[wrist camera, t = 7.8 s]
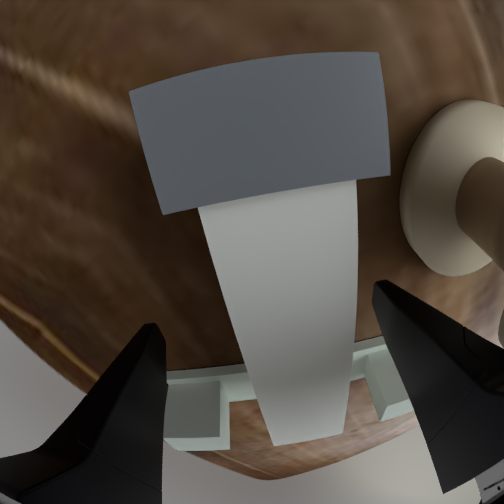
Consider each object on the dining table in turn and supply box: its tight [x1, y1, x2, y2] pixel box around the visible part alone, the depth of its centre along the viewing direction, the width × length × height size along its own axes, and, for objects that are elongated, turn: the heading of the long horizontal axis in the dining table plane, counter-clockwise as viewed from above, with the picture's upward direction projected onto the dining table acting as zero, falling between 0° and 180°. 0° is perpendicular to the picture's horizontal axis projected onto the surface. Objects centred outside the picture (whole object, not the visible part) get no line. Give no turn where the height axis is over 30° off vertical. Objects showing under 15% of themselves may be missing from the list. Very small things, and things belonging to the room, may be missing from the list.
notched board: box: [163, 336, 414, 451], centre depth 14 cm, size 3×14×4 cm, turn 100°
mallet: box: [129, 52, 391, 446], centre depth 9 cm, size 14×4×4 cm, turn 10°
